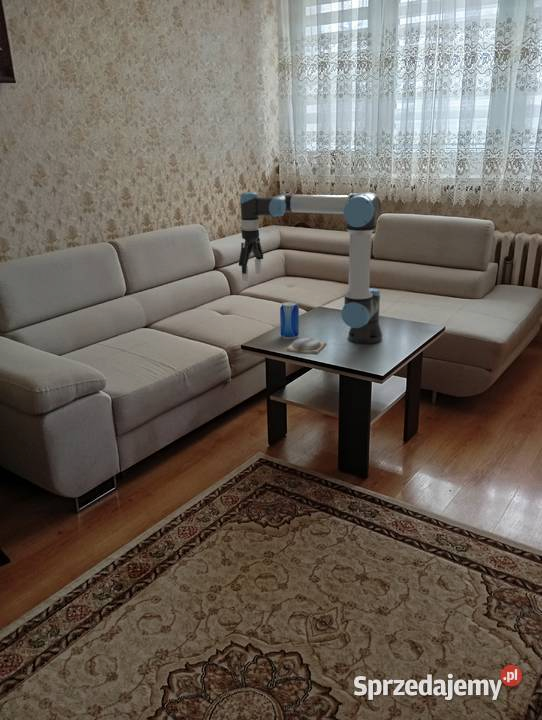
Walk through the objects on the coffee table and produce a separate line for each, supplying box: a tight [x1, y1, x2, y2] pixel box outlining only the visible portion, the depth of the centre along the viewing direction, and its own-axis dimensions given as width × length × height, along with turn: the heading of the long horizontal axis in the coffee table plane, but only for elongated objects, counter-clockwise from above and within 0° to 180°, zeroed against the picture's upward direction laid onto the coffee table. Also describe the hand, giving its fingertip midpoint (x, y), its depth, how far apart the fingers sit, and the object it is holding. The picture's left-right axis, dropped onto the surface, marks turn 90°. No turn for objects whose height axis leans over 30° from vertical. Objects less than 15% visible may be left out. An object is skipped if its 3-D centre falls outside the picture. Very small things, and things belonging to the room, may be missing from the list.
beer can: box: [279, 301, 300, 341], centre depth 277 cm, size 8×8×16 cm
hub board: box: [286, 337, 327, 355], centre depth 266 cm, size 14×12×2 cm
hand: (252, 277), depth 272 cm, fingers open, 13 cm apart
